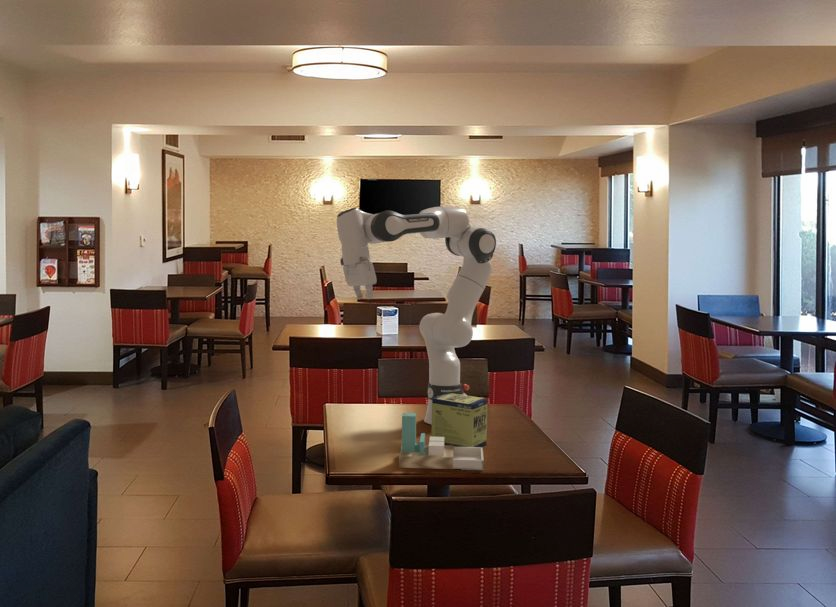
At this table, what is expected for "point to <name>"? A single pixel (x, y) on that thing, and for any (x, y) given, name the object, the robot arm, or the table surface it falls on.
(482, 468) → the tray
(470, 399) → the protein box
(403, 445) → the teal uneven u-shaped block
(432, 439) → the tile
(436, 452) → the white small block
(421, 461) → the board
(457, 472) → the table surface
